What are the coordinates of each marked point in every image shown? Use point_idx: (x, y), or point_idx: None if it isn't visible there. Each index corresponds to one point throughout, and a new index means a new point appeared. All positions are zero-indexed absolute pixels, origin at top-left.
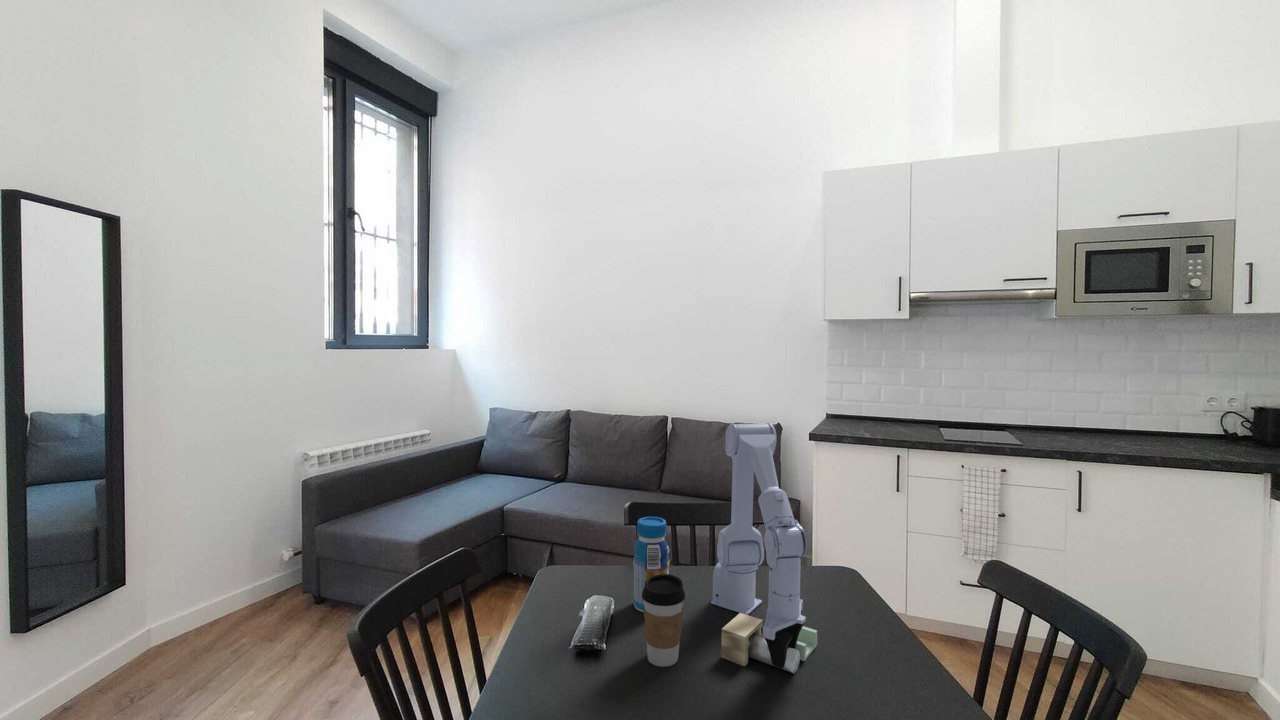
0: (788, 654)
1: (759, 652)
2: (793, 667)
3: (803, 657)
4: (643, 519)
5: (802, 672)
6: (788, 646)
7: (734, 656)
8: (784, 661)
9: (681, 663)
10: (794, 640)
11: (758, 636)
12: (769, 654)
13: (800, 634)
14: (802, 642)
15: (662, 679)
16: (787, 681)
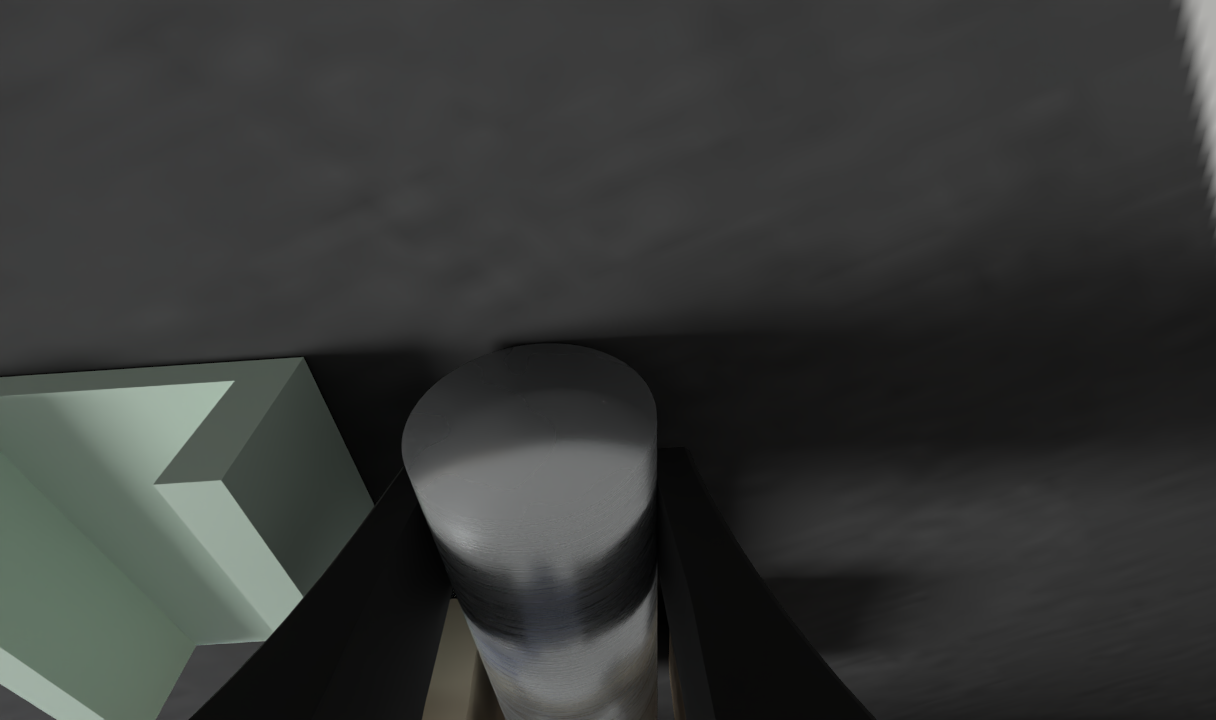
0: (616, 534)
1: (656, 638)
2: (602, 389)
3: (292, 388)
4: None
5: (488, 297)
6: (422, 575)
7: None
8: (703, 497)
9: None
10: (365, 629)
11: (469, 713)
12: (652, 600)
13: (20, 551)
14: (77, 483)
15: (1030, 707)
16: (727, 336)
